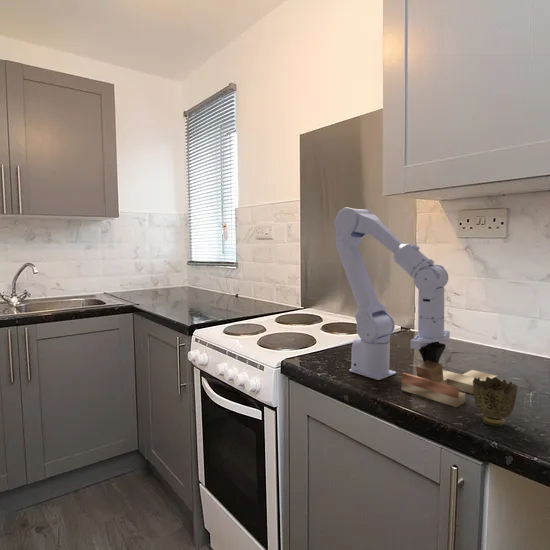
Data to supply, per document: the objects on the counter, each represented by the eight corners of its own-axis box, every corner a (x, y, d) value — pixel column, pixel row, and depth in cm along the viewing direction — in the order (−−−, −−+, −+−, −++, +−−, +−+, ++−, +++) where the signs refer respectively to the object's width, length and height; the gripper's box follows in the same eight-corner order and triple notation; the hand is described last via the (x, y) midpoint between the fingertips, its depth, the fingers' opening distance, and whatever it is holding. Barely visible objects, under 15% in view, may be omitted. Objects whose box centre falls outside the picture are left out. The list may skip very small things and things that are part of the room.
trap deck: (401, 389, 94) (401, 373, 93) (445, 370, 107) (445, 356, 107) (456, 407, 84) (457, 388, 84) (496, 383, 98) (497, 367, 97)
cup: (500, 414, 80) (502, 375, 80) (524, 432, 73) (526, 389, 72) (464, 415, 80) (465, 376, 79) (484, 432, 73) (486, 390, 72)
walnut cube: (417, 382, 94) (415, 366, 93) (428, 375, 96) (427, 360, 95) (432, 387, 90) (430, 370, 89) (443, 380, 92) (441, 364, 91)
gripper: (431, 323, 86) (431, 385, 88) (462, 314, 96) (461, 370, 97) (402, 319, 92) (402, 377, 93) (434, 311, 101) (433, 364, 102)
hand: (430, 373), depth 95 cm, fingers closed, pressing on walnut cube
